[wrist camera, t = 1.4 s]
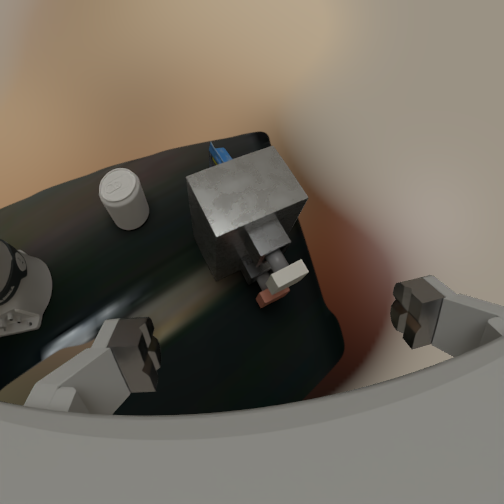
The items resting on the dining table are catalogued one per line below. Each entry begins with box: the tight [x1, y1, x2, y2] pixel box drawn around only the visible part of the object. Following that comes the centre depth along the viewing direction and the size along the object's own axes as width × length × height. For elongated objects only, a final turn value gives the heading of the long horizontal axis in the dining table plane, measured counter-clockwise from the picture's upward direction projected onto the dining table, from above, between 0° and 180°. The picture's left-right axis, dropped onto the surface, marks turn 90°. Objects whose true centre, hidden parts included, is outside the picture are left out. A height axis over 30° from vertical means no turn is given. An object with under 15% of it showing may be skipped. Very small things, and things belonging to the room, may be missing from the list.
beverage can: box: [99, 168, 149, 230], centre depth 56 cm, size 8×8×12 cm
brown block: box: [255, 272, 290, 308], centre depth 54 cm, size 5×6×5 cm
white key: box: [265, 249, 309, 295], centre depth 44 cm, size 5×6×5 cm
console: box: [186, 146, 308, 285], centre depth 51 cm, size 14×14×22 cm
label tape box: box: [209, 142, 232, 167], centre depth 61 cm, size 9×4×12 cm, turn 32°
